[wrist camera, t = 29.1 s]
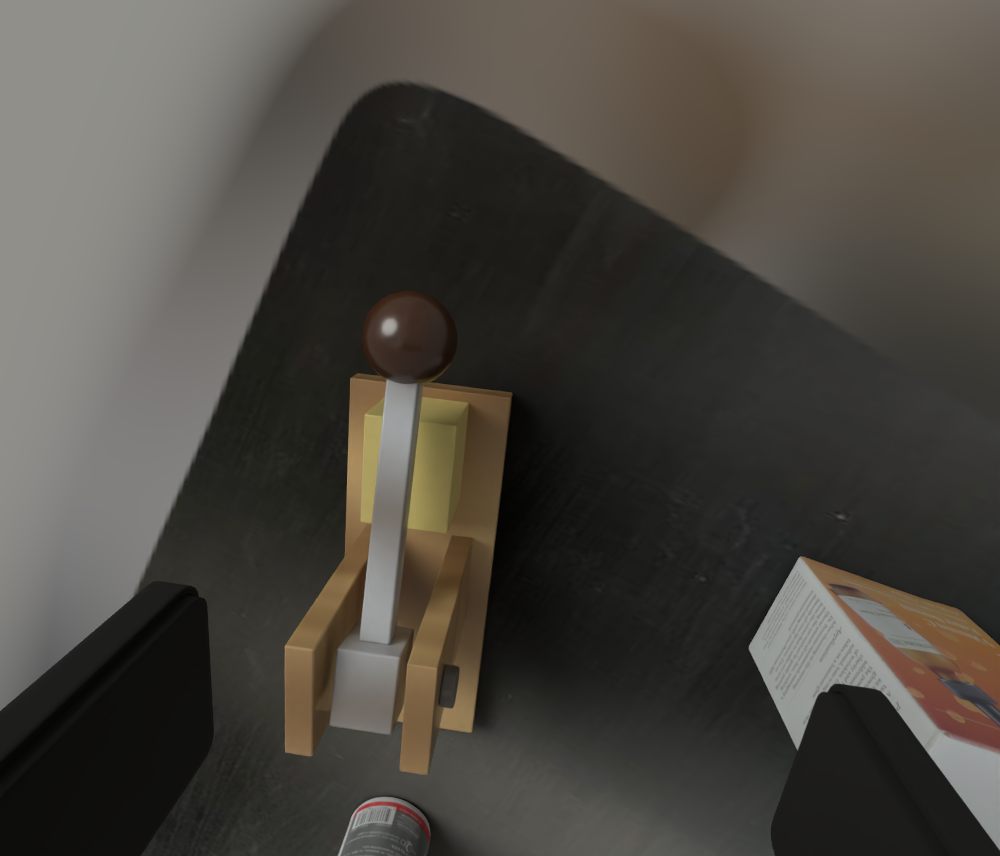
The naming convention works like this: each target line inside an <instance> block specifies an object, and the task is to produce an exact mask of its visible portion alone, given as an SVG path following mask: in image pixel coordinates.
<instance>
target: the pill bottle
mask: <svg viewBox="0 0 1000 856" xmlns="http://www.w3.org/2000/svg"><path fill="white" fill-rule="evenodd" d="M430 836H431V833H430V826H429V823H428V821H427V819H426V817H425V816H424V815H423V813H422V812H421V811H420V810H419V809H417V808H416V807H415V806H413V805H412V804H410V803H408V802H407V801H404V800H402V799H399V798H395V797H377V798H373V799H370V800H368V801H366V802H364V803H363V804H362V805H360V806H359V807H358V808H357V809H356V810H355V812H354V813H353V815H352V817H351V820H350V823H349V825H348V828H347V831H346V834H345V837H344V840H343V843H342V846H341V849H340V851H339V854H338V856H427V853H428V849H429V844H430Z"/></svg>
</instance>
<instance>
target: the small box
mask: <svg viewBox="0 0 1000 856" xmlns="http://www.w3.org/2000/svg"><path fill="white" fill-rule="evenodd" d="M749 651H750V653H751V654H752V657H753V659H754V661H755V663H756V665H757V667H758V669H759V671H760V673H761V675H762V677H763V680H764V682H765V684H766V686H767V688H768V690H769V692H770V694H771V696H772V698H773V700H774V702H775V705H776V707H777V709H778V711H779V713H780V715H781V717H782V719H783V721H784V723H785V726H786V728H787V730H788V732H789V734H790V736H791V738H792V740H793V742H794V744H795V746H796V749H797V750H798V748H799V745H800V743H801V740H802V737H803V734H804V731H805V729H806V726H807V723H808V720H809V717H810V715H811V712H812V709H813V706H814V703H815V701H816V698H817V696H818V695H819V694H820V693H821V692H828V690H829V688H830V687H831V686H832V685H834V684H846V685H852V686H859V687H866V688H872V689H877V690H879V691H881V692H882V693H883V694H884V695H885V696H886V697H887V698H888V700H889V701H890V702H891V704H892V705H893V706H894V708H895V709H896V710H897V712H898V713H899V714H900V716H901V717H902V719H903V720H904V721H905V723H906V724H907V725H908V727H909V728H910V729H911V731H912V732H913V733H914V735H915V736H916V737H917V739H918V740H919V742H920V743H921V744H922V746H923V747H924V748H925V750H926V751H927V752H928V754H929V755H930V756H931V758H932V759H933V760H934V762H935V763H936V765H937V766H938V767H939V769H940V770H941V771H942V773H943V774H944V775H945V777H946V778H947V779H948V781H949V782H950V784H951V785H952V786H953V788H954V789H955V790H956V792H957V793H958V794H959V796H960V797H961V798H962V800H963V801H964V802H965V804H966V805H967V807H968V808H969V809H970V811H971V812H972V813H973V815H974V816H975V817H976V819H977V820H978V821H979V823H980V824H981V826H982V827H983V828H984V830H985V831H986V832H987V834H988V835H989V836H990V838H991V839H992V840H993V842H994V843H995V844H996V846H997V847H998V849H999V850H1000V645H999V644H997V643H996V642H995V641H994V640H993V639H992V638H991V637H990V636H989V635H988V634H986V633H985V632H984V631H983V630H982V629H981V628H980V627H978V626H977V625H976V624H975V623H974V622H973V621H972V620H971V619H969V618H968V617H967V616H966V615H965V614H964V613H963V612H962V611H960V610H959V609H957V608H954V607H950V606H947V605H944V604H940V603H937V602H933V601H930V600H927V599H924V598H921V597H918V596H915V595H912V594H909V593H906V592H903V591H900V590H897V589H894V588H891V587H888V586H886V585H883V584H880V583H877V582H874V581H871V580H869V579H866V578H863V577H860V576H857V575H854V574H851V573H849V572H846V571H843V570H840V569H837V568H834V567H831V566H828V565H825V564H823V563H820V562H817V561H814V560H811V559H808V558H806V557H799V558H798V560H797V562H796V564H795V566H794V567H793V569H792V571H791V573H790V574H789V576H788V578H787V580H786V581H785V583H784V585H783V587H782V588H781V590H780V592H779V594H778V595H777V597H776V599H775V601H774V603H773V604H772V606H771V608H770V610H769V611H768V613H767V615H766V617H765V619H764V620H763V622H762V624H761V626H760V627H759V629H758V631H757V633H756V635H755V636H754V638H753V640H752V642H751V643H750V645H749Z"/></svg>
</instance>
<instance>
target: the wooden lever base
mask: <svg viewBox="0 0 1000 856" xmlns="http://www.w3.org/2000/svg"><path fill="white" fill-rule="evenodd" d="M386 381H387V380H386V379H384V378H383V377H381V376H375V375H367V374H359V373H358V374H356V375H355V376H353V377H351V379H350V411H349V443H348V475H347V507H346V538H345V557H344V559H343V560H342V562H341V563H340V565H339V566H338V568H337V569H336V571H335V572H334V574H333V575H332V577H331V578H330V580H329V581H328V583H327V584H326V586H325V587H324V589H323V590H322V592H321V593H320V595H319V596H318V598H317V599H316V601H315V602H314V603H313V605H312V606H311V608H310V609H309V611H308V612H307V614H306V615H305V617H304V618H303V620H302V621H301V623H300V624H299V626H298V627H297V629H296V630H295V632H294V633H293V635H292V636H291V638H290V639H289V641H288V642H287V644H286V645H285V752H287V753H292V754H298V755H304V756H313V754H314V752H315V750H316V748H317V746H318V744H319V742H320V739H321V737H322V735H323V733H324V731H325V729H326V727H327V725H328V722H329V720H330V714H331V704H332V694H333V684H334V674H335V664H336V654H337V649H338V647H339V646H340V645H341V643H342V642H343V641H344V639H345V638H346V636H347V635H348V634H349V632H350V631H351V630H352V628H353V627H354V625H355V624H356V623H357V621H361V619H362V610H363V600H364V591H365V581H366V572H367V562H368V553H369V543H370V533H371V523H364V522H361V497H362V471H363V445H364V420H365V414H366V413H367V412H368V411H369V410H370V409H372V408H373V407H374V406H375V405H376V404H377V403H378V402H380V401H381V400H382V399H383V398H384V397H385V390H386ZM512 395H513V394H512V393H511V392H503V391H495V390H487V389H479V388H471V387H463V386H455V385H447V384H439V383H431V382H429V383H426V384H423V393H422V397H427V398H435V399H443V400H451V401H459V402H466V403H469V410H468V420H467V431H466V441H465V452H464V463H463V473H462V484H461V495H460V500H459V502H458V505H457V508H456V511H455V513H454V516H453V519H452V522H451V524H450V527H449V530H448V533H447V534H445V533H437V532H430V531H422V530H415V529H408V528H407V537H406V546H405V555H404V564H403V573H402V582H401V591H400V601H399V610H398V619H397V626H401V627H408V628H413V629H414V638H413V647H412V652H411V655H410V658H409V660H408V663H407V673H406V687H405V701H404V705H403V708H402V710H401V713H400V715H399V718H398V720H397V722H403V729H402V743H401V757H400V771H403V772H410V773H416V774H422V775H428V774H429V770H430V766H431V761H432V757H433V753H434V748H435V744H436V740H437V735H438V731H439V728H442V729H449V730H455V731H462V732H468V733H472V731H473V724H474V718H475V710H476V701H477V693H478V684H479V676H480V667H481V659H482V650H483V642H484V633H485V625H486V616H487V608H488V599H489V591H490V582H491V574H492V565H493V557H494V548H495V540H496V531H497V523H498V514H499V506H500V497H501V489H502V480H503V472H504V463H505V455H506V446H507V438H508V429H509V421H510V412H511V404H512Z"/></svg>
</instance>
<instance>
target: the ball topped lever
mask: <svg viewBox="0 0 1000 856" xmlns="http://www.w3.org/2000/svg"><path fill="white" fill-rule="evenodd" d="M362 346H363V351H364V354H365V356H366V358H367V360H368V362H369V364H370V365H371V367H372V368H373V369H374V370H375V371H376V372H377V373H378V374H379V375H380V376H381V377H383V378H384V379H386V380H387V381H386V390H385V400H384V409H383V419H382V428H381V438H380V448H379V457H378V467H377V476H376V486H375V495H374V505H373V514H372V524H371V533H370V543H369V553H368V562H367V572H366V581H365V591H364V600H363V610H362V619H361V621H357V623H356V624H355V625H354V627H353V628H352V630H351V631H350V632H349V634H348V635H347V636H346V638H345V639H344V641H343V642H342V643H341V645H340V646H339V647H338V649H337V654H336V664H335V674H334V684H333V694H332V704H331V714H330V725H331V726H334V727H341V728H347V729H354V730H360V731H367V732H373V733H380V734H386V735H391V734H392V733H393V730H394V728H395V725H396V723H397V720H398V718H399V715H400V713H401V710H402V708H403V705H404V701H405V687H406V673H407V663H408V660H409V658H410V655H411V652H412V647H413V638H414V629H413V628H408V627H401V626H397V619H398V610H399V601H400V591H401V582H402V573H403V564H404V555H405V546H406V537H407V528H408V519H409V510H410V501H411V492H412V483H413V474H414V465H415V456H416V447H417V438H418V429H419V420H420V411H421V402H422V393H423V384H426V383H429V382H431V381H433V380H435V379H436V378H438V377H439V376H440V375H442V374H443V373H444V372H445V371H446V369H447V368H448V367H449V365H450V364H451V362H452V360H453V358H454V355H455V352H456V347H457V332H456V327H455V324H454V321H453V319H452V317H451V315H450V314H449V312H448V311H447V309H446V308H445V307H444V306H443V305H442V304H441V303H440V302H439V301H438V300H436V299H435V298H433V297H431V296H429V295H427V294H424V293H421V292H417V291H400V292H395V293H392V294H390V295H388V296H386V297H384V298H382V299H381V300H379V301H378V302H377V303H376V304H375V305H374V306H373V307H372V309H371V310H370V311H369V313H368V315H367V316H366V319H365V321H364V324H363V328H362Z"/></svg>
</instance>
